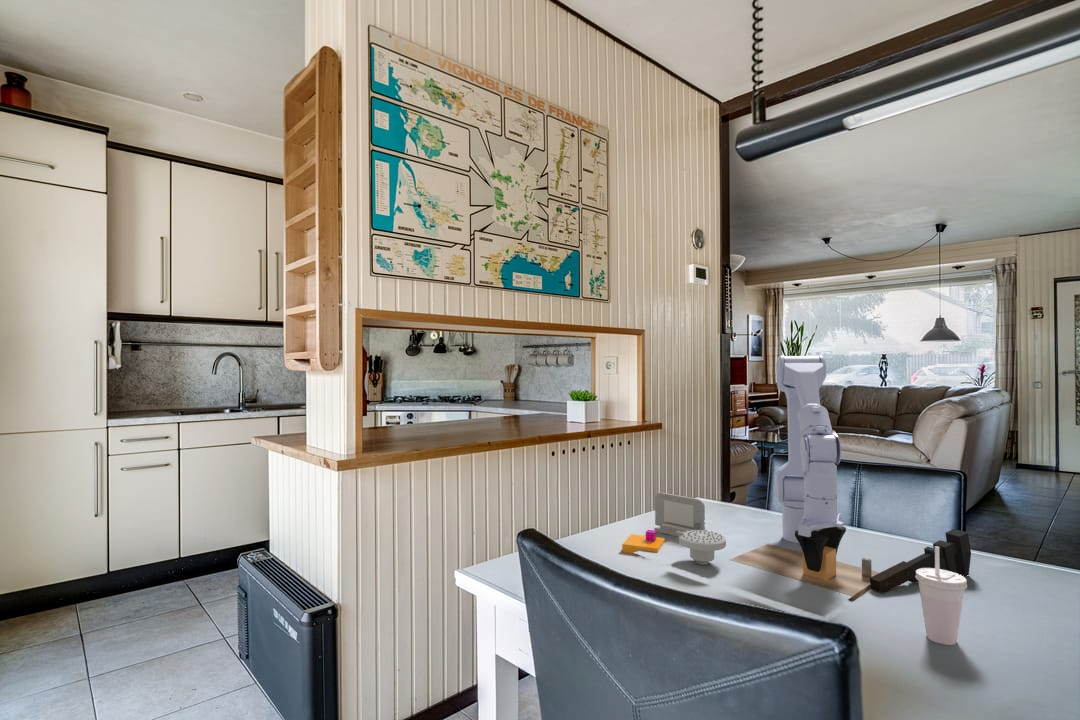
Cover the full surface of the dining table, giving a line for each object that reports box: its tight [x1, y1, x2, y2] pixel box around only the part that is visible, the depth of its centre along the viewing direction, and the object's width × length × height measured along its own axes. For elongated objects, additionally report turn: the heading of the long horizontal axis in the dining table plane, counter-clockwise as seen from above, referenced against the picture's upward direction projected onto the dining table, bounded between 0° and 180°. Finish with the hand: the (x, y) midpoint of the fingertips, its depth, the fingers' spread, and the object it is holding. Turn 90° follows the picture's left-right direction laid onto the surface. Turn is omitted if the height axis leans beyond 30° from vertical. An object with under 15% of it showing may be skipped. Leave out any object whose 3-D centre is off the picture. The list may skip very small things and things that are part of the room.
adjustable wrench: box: [869, 528, 972, 594], centre depth 106 cm, size 8×3×25 cm
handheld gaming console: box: [653, 492, 707, 538], centre depth 138 cm, size 13×9×10 cm
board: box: [729, 543, 880, 602], centre depth 112 cm, size 16×24×4 cm, turn 40°
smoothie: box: [916, 546, 968, 646], centre depth 84 cm, size 6×6×14 cm
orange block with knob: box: [621, 529, 666, 555], centre depth 126 cm, size 8×8×4 cm
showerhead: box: [676, 529, 727, 565], centre depth 114 cm, size 9×7×10 cm
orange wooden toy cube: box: [803, 546, 837, 580], centre depth 108 cm, size 4×4×5 cm
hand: (820, 566), depth 107 cm, fingers open, 6 cm apart
